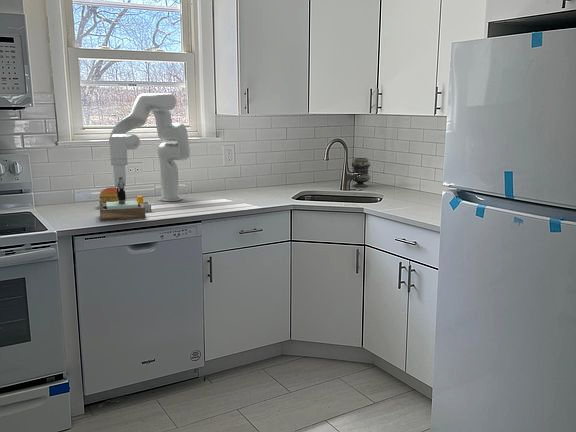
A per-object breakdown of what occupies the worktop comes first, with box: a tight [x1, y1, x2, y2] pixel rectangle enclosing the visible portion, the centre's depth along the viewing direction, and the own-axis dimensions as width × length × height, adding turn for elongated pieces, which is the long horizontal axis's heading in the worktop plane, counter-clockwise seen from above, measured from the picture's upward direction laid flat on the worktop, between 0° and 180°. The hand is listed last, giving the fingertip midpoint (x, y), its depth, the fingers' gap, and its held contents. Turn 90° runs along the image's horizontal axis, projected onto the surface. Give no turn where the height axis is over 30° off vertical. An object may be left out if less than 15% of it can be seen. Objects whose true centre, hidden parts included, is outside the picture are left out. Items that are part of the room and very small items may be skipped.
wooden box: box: [99, 199, 146, 222], centre depth 268 cm, size 12×20×8 cm, turn 109°
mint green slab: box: [106, 200, 138, 210], centre depth 267 cm, size 12×14×6 cm
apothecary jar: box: [351, 157, 371, 188], centre depth 359 cm, size 12×12×18 cm
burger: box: [99, 186, 127, 205], centre depth 294 cm, size 13×14×10 cm
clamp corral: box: [143, 201, 152, 213], centre depth 283 cm, size 9×17×4 cm, turn 109°
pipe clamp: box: [125, 195, 144, 205], centre depth 283 cm, size 12×4×6 cm, turn 141°
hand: (121, 198), depth 267 cm, fingers open, 9 cm apart
